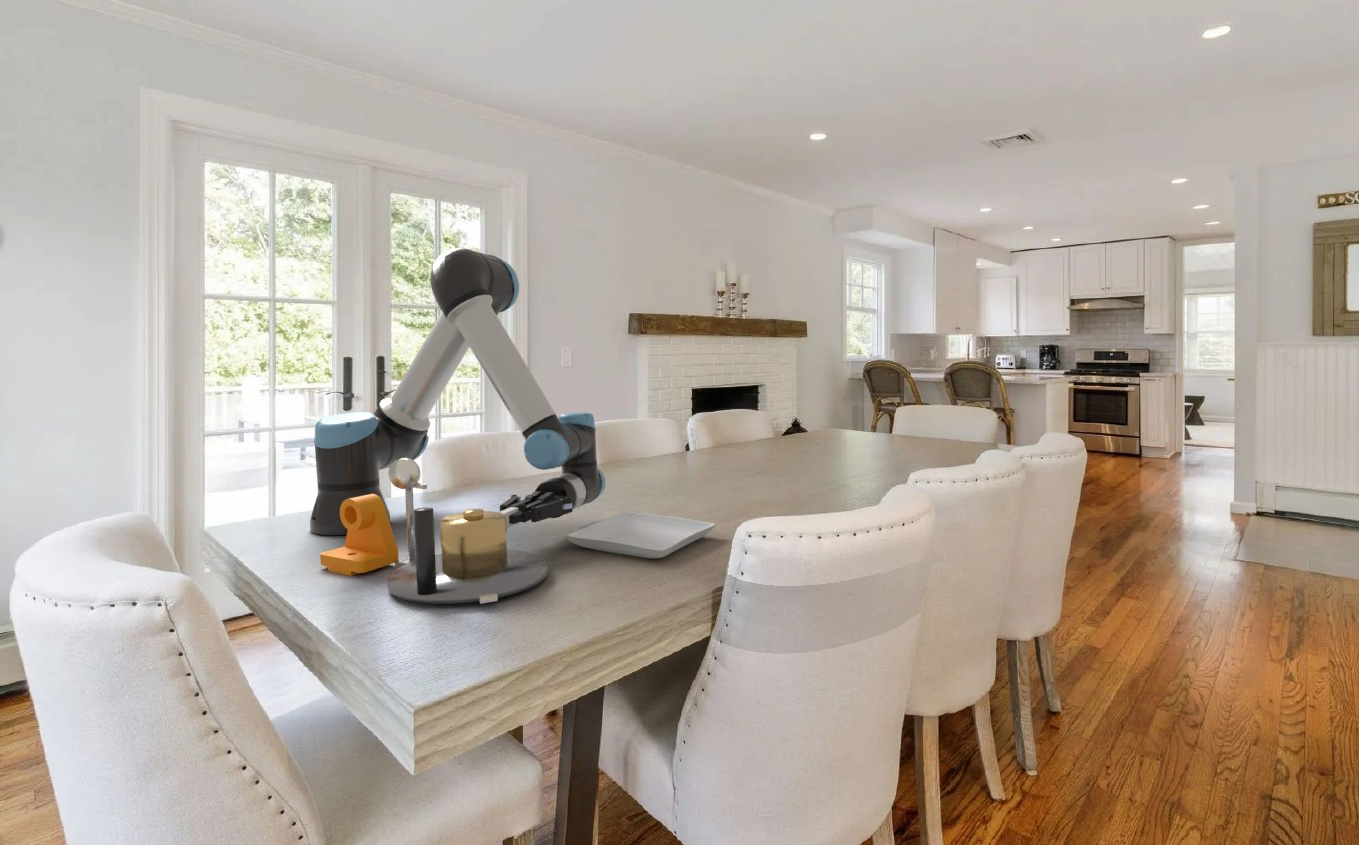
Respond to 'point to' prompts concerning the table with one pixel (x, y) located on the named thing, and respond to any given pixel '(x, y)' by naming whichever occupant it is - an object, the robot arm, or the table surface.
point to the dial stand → (407, 498)
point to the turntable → (435, 587)
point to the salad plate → (640, 534)
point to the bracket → (363, 538)
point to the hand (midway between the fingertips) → (494, 523)
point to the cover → (473, 543)
